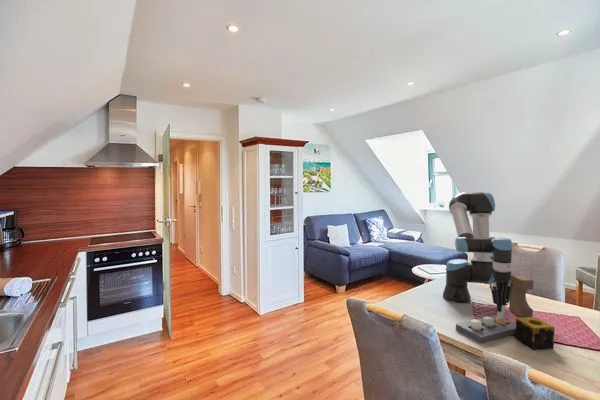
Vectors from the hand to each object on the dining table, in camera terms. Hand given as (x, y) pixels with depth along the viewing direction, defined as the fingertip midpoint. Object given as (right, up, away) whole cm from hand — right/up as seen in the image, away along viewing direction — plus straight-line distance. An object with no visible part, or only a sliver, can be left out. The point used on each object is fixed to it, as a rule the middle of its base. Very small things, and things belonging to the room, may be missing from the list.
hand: (500, 317), depth 152 cm
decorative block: (+20, -4, +15) cm, 26 cm away
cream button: (-15, -4, -5) cm, 16 cm away
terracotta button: (0, -5, 0) cm, 5 cm away
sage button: (-7, -3, -3) cm, 9 cm away
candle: (+5, -6, -14) cm, 17 cm away
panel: (-7, -6, -3) cm, 10 cm away
